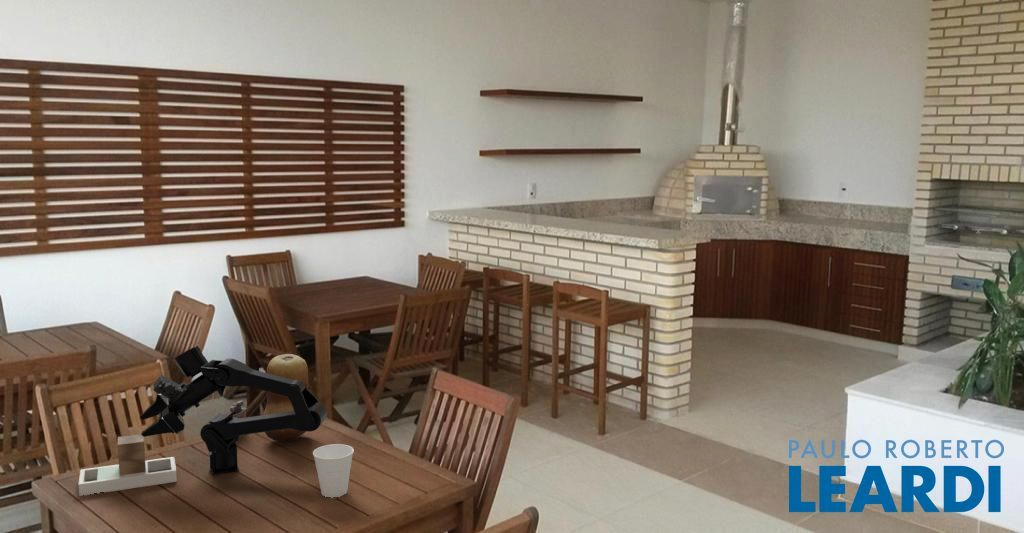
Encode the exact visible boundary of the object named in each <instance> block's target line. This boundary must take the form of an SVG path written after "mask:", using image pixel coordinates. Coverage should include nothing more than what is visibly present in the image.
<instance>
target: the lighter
mask: <svg viewBox="0 0 1024 533" xmlns="http://www.w3.org/2000/svg"><path fill="white" fill-rule="evenodd" d="M230 412H233V417H235V418H247V408H246V407H244V401H243V400H239V401H237V402H236V403H235V402H233V403H232V404H231V406H230V407H229V413H230ZM244 436H245V435H240V437H239V440H240V439H241V438H243V437H244Z"/></svg>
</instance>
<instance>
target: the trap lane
mask: <svg viewBox="0 0 1024 533" xmlns="http://www.w3.org/2000/svg"><path fill="white" fill-rule="evenodd" d="M145 465H146V472H141V473H134V474H127V475H120V474H119V463H118V464H112V465H104V466H97V467H90V468H83V469H80V471H79V479H78V483H77V484H78V495H79V496H78V497H83V495H84V496H90V494H91V495H95V494H94V493H97V494H101V493H100V492H104V493H110V492H118V491H123V490H130V489H134V488H135V489H136V488H142V487H150V486H157V485H162V484H163V485H164V484H169V483H177V480H178V479H177V467H176V459H175V456H171V457H163V458H155V459H148V460H145Z"/></svg>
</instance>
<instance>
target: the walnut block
mask: <svg viewBox="0 0 1024 533" xmlns="http://www.w3.org/2000/svg"><path fill="white" fill-rule="evenodd" d="M145 451H146V449H145V437H143V436H142V435H141V433H139V434H133V435H124V436H118V437H117V457H118V464H119V474H120V475H127V474H134V473H141V472H146V465H145V461H146V452H145Z"/></svg>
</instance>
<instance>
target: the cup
mask: <svg viewBox="0 0 1024 533" xmlns="http://www.w3.org/2000/svg"><path fill="white" fill-rule="evenodd" d="M354 453H355V450H354V447H353V446H351V445H347V444H341V443H334V444H333V443H332V444H330V443H329V444H326V445H322V446H319V447H317V448H315V449H314V450H312V455H313V457H314V458H313V459H314V462H315V468H316V472H317V477H318V482H319V487H320V493H321V496H323V497H324V496H325V498H326V497H331V498H330V499H334V498H333V497H339V498H341V497H340V496H342V495H344V494H345V495H346V494H347V493H348V487H349V480H350V474H351V467H352V463H353V462H352V461H353V454H354ZM345 495H344V496H345ZM342 497H343V496H342Z"/></svg>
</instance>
